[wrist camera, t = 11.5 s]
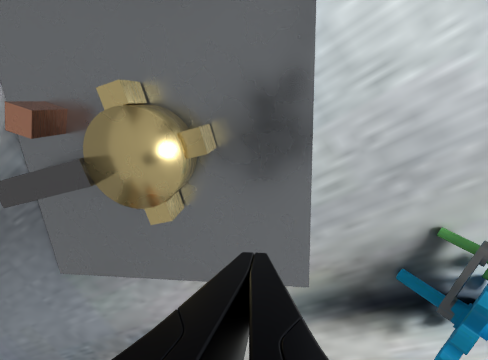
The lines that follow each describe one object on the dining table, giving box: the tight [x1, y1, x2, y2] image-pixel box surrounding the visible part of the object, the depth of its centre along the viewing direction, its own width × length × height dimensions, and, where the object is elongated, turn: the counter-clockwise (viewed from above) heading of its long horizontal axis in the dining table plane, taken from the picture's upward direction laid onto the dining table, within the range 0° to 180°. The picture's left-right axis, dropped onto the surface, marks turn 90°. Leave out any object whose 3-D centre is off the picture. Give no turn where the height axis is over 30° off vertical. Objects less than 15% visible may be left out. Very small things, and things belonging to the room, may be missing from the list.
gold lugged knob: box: [0, 79, 217, 225], centre depth 19 cm, size 16×10×3 cm, turn 105°
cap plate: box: [0, 0, 316, 287], centre depth 19 cm, size 24×24×4 cm
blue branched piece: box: [396, 228, 488, 360], centre depth 19 cm, size 11×6×10 cm
